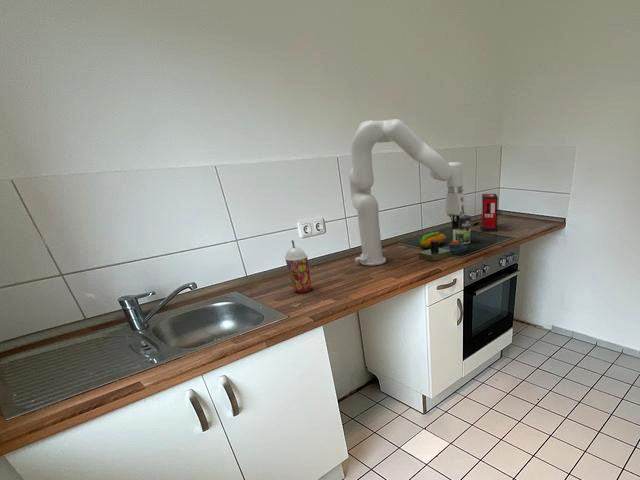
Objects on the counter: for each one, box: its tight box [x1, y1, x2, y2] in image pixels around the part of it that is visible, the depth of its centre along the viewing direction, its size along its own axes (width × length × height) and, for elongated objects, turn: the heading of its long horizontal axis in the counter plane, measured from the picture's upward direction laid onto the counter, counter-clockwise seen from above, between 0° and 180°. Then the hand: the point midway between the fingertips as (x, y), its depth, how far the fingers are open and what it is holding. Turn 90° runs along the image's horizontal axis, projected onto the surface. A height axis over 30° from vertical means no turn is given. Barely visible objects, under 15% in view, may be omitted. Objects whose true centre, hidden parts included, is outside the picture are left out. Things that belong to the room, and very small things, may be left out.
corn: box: [419, 231, 447, 249], centre depth 213 cm, size 7×8×20 cm
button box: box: [442, 242, 469, 256], centre depth 203 cm, size 11×9×4 cm
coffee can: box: [452, 214, 472, 245], centre depth 218 cm, size 10×10×14 cm
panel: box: [418, 247, 452, 263], centre depth 194 cm, size 13×10×3 cm
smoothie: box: [284, 239, 312, 293], centre depth 152 cm, size 8×8×20 cm
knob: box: [430, 240, 440, 252], centre depth 192 cm, size 4×4×5 cm
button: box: [451, 239, 459, 245], centre depth 202 cm, size 4×4×2 cm
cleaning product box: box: [481, 193, 499, 232], centre depth 246 cm, size 16×9×20 cm, turn 178°
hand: (455, 228), depth 198 cm, fingers closed
